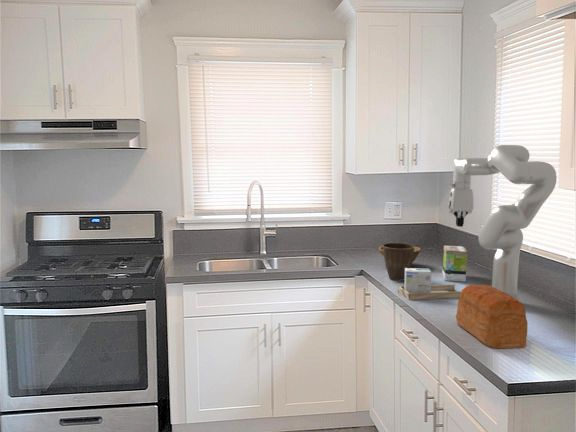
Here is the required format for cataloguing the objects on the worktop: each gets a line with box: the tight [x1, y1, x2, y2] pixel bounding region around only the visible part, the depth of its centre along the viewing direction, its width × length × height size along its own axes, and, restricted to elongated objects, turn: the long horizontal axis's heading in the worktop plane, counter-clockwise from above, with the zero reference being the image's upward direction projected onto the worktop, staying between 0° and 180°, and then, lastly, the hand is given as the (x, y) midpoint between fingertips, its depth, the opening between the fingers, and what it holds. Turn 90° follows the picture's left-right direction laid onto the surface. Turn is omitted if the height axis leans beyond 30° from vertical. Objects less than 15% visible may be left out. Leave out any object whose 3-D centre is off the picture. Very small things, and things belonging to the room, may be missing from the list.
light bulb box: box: [403, 267, 432, 293], centre depth 229 cm, size 11×7×11 cm, turn 83°
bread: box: [455, 284, 529, 349], centre depth 180 cm, size 14×27×15 cm, turn 7°
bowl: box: [378, 245, 421, 265], centre depth 285 cm, size 22×23×10 cm
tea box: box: [441, 245, 468, 282], centre depth 261 cm, size 15×10×15 cm
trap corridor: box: [397, 284, 462, 301], centre depth 230 cm, size 12×26×2 cm, turn 100°
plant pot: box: [382, 242, 415, 281], centre depth 258 cm, size 15×15×16 cm
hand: (459, 226), depth 245 cm, fingers closed
